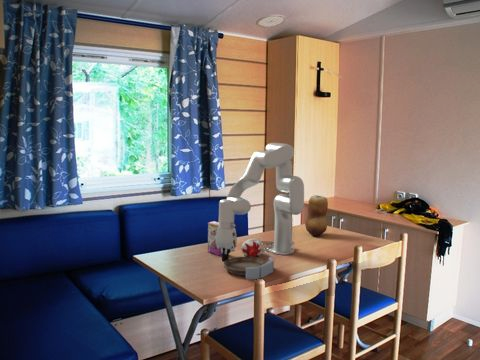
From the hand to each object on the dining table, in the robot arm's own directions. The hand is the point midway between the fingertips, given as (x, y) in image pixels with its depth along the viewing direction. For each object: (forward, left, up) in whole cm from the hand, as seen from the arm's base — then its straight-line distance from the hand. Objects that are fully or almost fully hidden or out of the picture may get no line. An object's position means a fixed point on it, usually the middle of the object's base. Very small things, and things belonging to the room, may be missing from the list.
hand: (225, 261), depth 213 cm
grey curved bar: (0, +21, -2) cm, 21 cm away
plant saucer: (0, +12, -2) cm, 12 cm away
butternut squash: (-79, +10, -2) cm, 80 cm away
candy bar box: (-11, -14, -2) cm, 18 cm away
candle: (-18, +3, -2) cm, 19 cm away
